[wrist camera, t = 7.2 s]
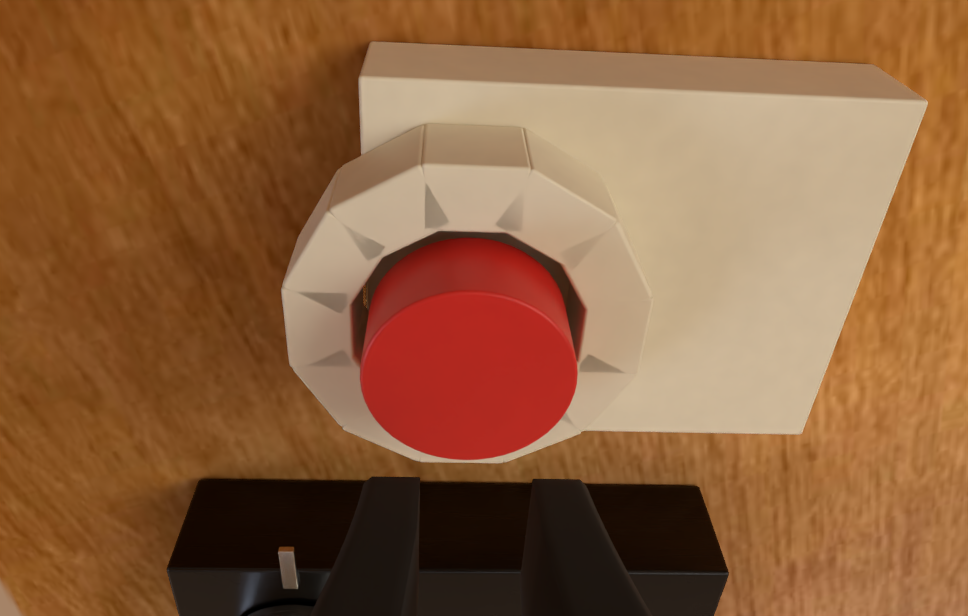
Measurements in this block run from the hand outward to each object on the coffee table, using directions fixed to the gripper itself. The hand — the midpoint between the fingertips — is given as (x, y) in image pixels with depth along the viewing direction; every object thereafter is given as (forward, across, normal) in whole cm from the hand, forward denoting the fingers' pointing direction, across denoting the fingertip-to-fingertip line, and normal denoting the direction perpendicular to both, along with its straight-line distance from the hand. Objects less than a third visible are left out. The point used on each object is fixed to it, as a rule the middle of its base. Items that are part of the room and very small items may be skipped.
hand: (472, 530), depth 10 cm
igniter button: (+5, 0, 0) cm, 5 cm away
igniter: (+8, -3, 0) cm, 9 cm away
